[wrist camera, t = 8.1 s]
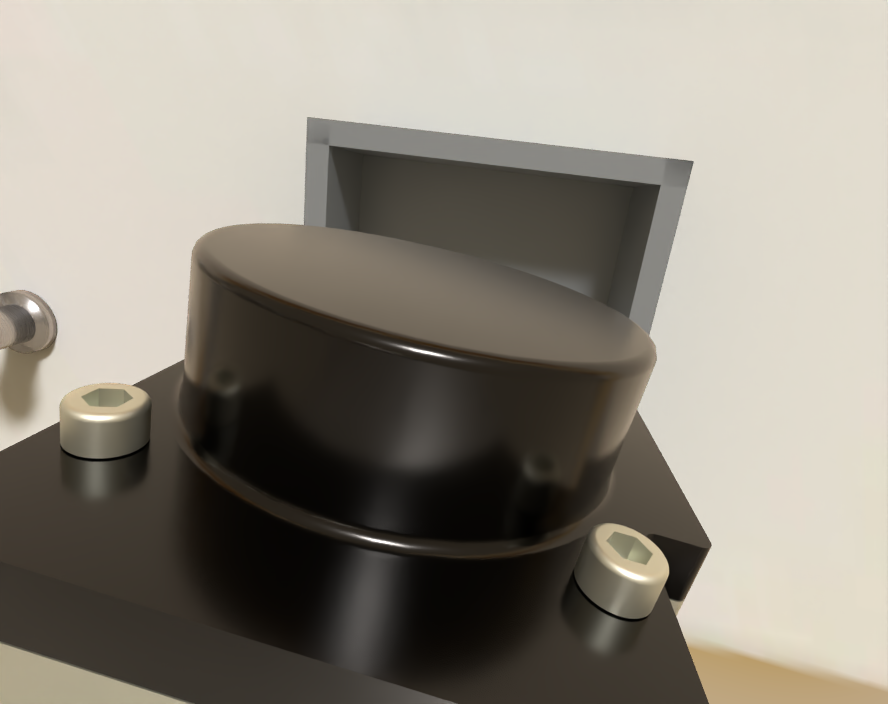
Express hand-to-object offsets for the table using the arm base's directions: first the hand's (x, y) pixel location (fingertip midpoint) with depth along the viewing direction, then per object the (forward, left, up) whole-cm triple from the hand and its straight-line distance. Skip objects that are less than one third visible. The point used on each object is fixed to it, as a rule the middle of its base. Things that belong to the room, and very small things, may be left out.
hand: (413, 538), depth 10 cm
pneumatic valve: (0, 0, -5) cm, 5 cm away
